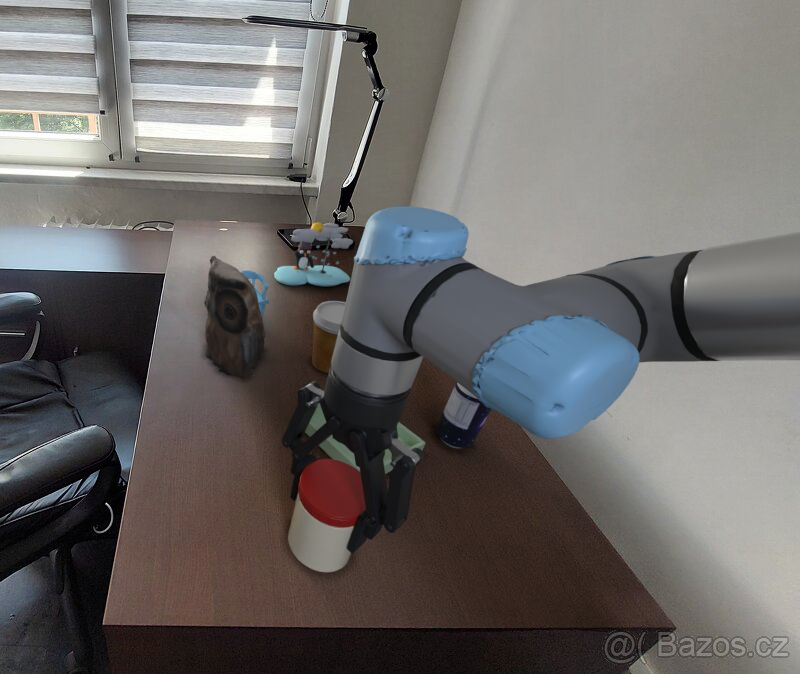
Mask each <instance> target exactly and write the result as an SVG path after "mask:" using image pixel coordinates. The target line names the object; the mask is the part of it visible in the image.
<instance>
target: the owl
mask: <svg viewBox="0 0 800 674" xmlns="http://www.w3.org/2000/svg"><path fill="white" fill-rule="evenodd" d="M209 264H210V267H209V270H208V273H207V274H208V279H207V280H208V281H207V291H206V296H205V298H204V299H205V300H204V306H205V308H206V314H207V319H206V322H205V331H204V333H205V334H204V337H205V342H206V349H205V358H207V359H209V360H211V361H212V362H211V365H213V366H216V368H217V369H218V372H220V373H223V374H224V375H226V376H231V377H235V378H238V379H241V380H242V381H244V380H247V379H248V378H249V377H250V376H251V374H252V371H253V370H255V369H256V365H257V363H258V361H260V360H261V359H262V356H263V353H264V351H265V348H264V347H265V343H266V334H265V327H264V320H263V319H262V315H261V312H260V308H259V304H258V298H257V294H256V291H255V288H256V287H255V288H254V287H253V285H252V284H251V283H252V281H250V279H248V278H247V277H246V276H245V275H244V274H243V273H241V272H242V271H240V270H239V269H238V268H236V267H235V266H233V265H231V264H230V263H228V262H225V261H223V260H222V259H220V258H218V257H217V256H216V255H211V257H210V259H209Z"/></svg>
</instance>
